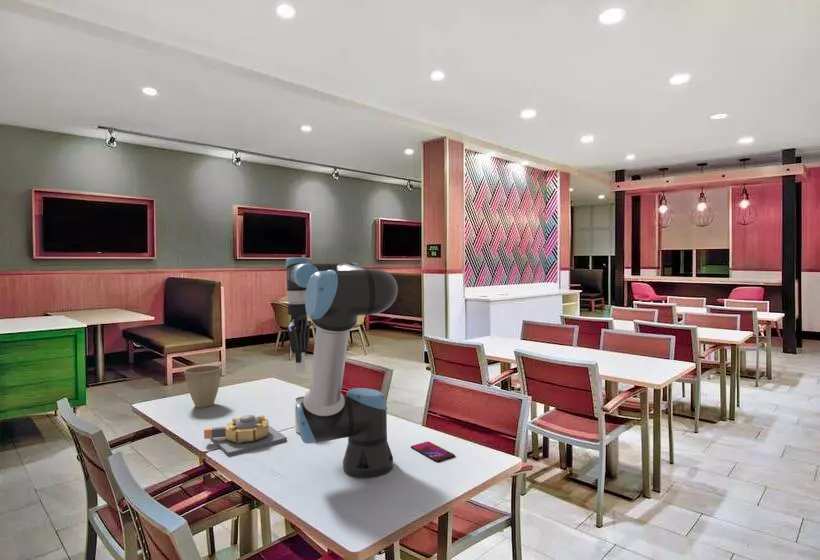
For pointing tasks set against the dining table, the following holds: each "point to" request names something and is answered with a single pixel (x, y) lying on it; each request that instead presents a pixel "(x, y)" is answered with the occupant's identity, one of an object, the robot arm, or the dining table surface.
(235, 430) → the ring nut
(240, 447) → the base
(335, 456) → the dining table surface
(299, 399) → the can
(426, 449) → the smartphone
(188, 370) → the plant pot
